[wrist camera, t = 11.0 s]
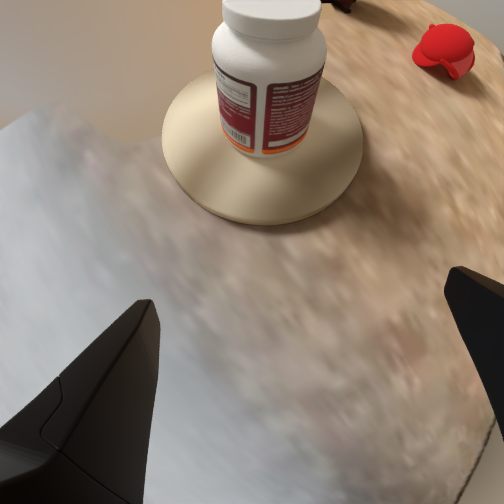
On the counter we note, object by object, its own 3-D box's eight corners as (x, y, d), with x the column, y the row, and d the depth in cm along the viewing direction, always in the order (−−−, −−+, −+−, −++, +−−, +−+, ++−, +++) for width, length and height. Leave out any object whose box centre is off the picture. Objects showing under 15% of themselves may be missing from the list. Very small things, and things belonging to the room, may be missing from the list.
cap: (453, 30, 24) (430, 2, 21) (489, 52, 21) (470, 22, 18) (422, 73, 29) (396, 50, 26) (455, 98, 26) (432, 73, 23)
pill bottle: (307, 100, 22) (334, -18, 12) (305, 166, 21) (346, 39, 10) (227, 92, 22) (219, -28, 12) (214, 157, 21) (192, 26, 10)
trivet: (389, 134, 23) (394, 126, 22) (278, 271, 20) (280, 267, 19) (252, 48, 25) (252, 39, 24) (128, 146, 22) (123, 138, 21)
